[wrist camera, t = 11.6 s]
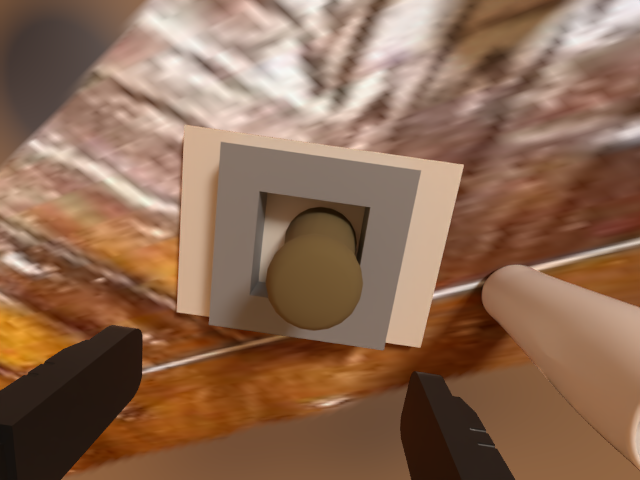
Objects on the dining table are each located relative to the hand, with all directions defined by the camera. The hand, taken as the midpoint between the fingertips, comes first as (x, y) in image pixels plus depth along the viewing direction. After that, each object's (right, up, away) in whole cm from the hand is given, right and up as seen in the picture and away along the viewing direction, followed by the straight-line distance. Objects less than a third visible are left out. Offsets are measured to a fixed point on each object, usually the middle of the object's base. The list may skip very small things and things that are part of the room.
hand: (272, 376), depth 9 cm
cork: (+1, +4, +17) cm, 17 cm away
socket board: (+1, +4, +18) cm, 18 cm away
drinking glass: (+18, -1, +18) cm, 26 cm away
